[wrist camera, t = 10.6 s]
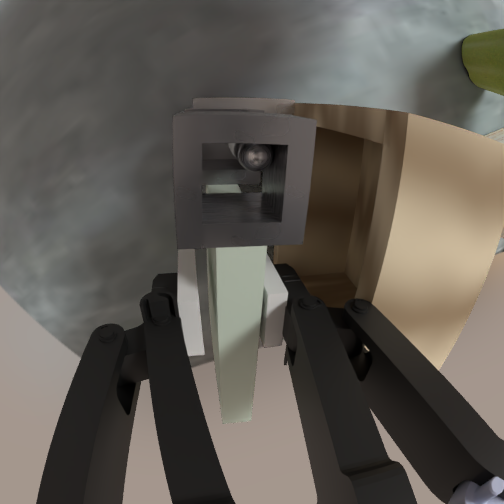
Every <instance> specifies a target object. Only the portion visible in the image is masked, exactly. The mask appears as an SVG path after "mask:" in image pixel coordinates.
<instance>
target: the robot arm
mask: <svg viewBox="0 0 504 504" xmlns="http://www.w3.org/2000/svg"><path fill="white" fill-rule="evenodd" d="M140 308H141V312H142V317H143V321H144V323H143V324H141V325H140V326H138V327H136V328H133V329H129V330H126V331H124V329H123V328H122V327H121V326H119V325H117V324H105V325H102V326H100V327H98V328H97V329H95V330H94V332H93V333H92V334H91V337H90V339H89V341H88V344H87V346H86V348H85V351H84V353H83V355H82V358H81V360H80V363H79V366H78V368H77V370H76V373H75V375H74V378H73V380H72V383H71V386H70V388H69V391H68V394H67V396H66V399H65V402H64V405H63V408H62V411H61V414H60V417H59V420H58V423H57V426H56V429H55V432H54V435H53V439H52V442H51V445H50V449H49V452H48V456H47V460H46V464H45V467H44V471H43V475H42V480H41V484H40V488H39V493H38V498H37V503H36V504H122V500H123V492H124V483H125V475H126V467H127V459H128V453H129V446H130V440H131V434H132V428H133V422H134V416H135V411H136V405H137V400H138V395H139V390H140V385H141V381H143V380H146V379H149V383H150V390H151V398H152V405H153V412H154V418H155V424H156V430H157V436H158V441H159V446H160V451H161V456H162V461H163V465H164V470H165V474H166V479H167V483H168V487H169V491H170V495H171V499H172V503H173V504H235V502H234V500H233V498H232V496H231V493H230V491H229V488H228V485H227V483H226V480H225V477H224V474H223V472H222V469H221V466H220V463H219V460H218V457H217V454H216V451H215V448H214V445H213V442H212V439H211V436H210V432H209V429H208V426H207V423H206V420H205V416H204V413H203V409H202V406H201V402H200V399H199V395H198V391H197V388H196V384H195V381H194V377H193V373H192V369H191V365H190V361H189V357H188V356H195V355H205V353H204V344H203V335H202V326H201V316H200V305H199V295H198V284H197V273H196V261H195V249H178V273H166V274H158V275H157V276H156V277H155V279H154V280H153V285H152V292H151V293H148V294H147V295H145V296H144V297H143V298H142V299H141V301H140ZM260 337H261V340H262V343H263V346H264V348H267V347H274V346H280V345H282V340H283V337H284V339H285V341H286V344H287V345H286V352H285V358H284V365H287V361H288V365H289V370H290V374H291V378H292V383H293V387H294V392H295V396H296V400H297V405H298V410H299V414H300V418H301V423H302V428H303V432H304V437H305V441H306V446H307V451H308V455H309V460H310V464H311V469H312V474H313V478H314V483H315V488H316V492H317V504H417V501H416V498H415V496H414V493H413V490H412V488H411V484H410V482H409V479H408V476H407V474H406V471H405V469H404V468H403V466H402V465H401V464H400V463H399V462H396V461H392V460H391V459H390V458H389V457H388V455H387V452H386V450H385V448H384V444H383V442H382V439H381V436H380V434H379V431H378V429H377V426H376V423H375V421H374V418H373V416H372V414H371V411H370V409H371V410H372V411H373V413H374V414H375V416H376V417H377V418H378V420H379V421H380V422H381V424H382V425H383V426H384V428H385V429H386V431H387V432H388V434H389V435H390V436H391V438H392V439H393V440H394V442H395V443H396V445H397V446H398V447H399V448H400V450H401V451H402V453H403V454H404V456H405V457H406V458H407V460H408V461H409V462H410V464H411V465H412V467H413V468H414V469H415V470H416V472H417V473H418V475H419V476H420V478H421V479H422V480H423V482H424V483H425V484H426V486H427V487H428V488H429V489H430V491H431V492H432V493H433V494H434V495H436V497H438V498H439V499H440V500H441V501H442V502H444V503H445V504H504V440H502V439H500V438H499V437H498V436H497V435H496V434H495V433H494V432H493V430H492V429H491V428H490V427H489V426H488V425H487V423H486V422H485V421H484V420H483V419H482V418H481V417H480V415H478V413H477V412H476V411H475V410H474V409H473V408H472V406H471V405H470V404H469V403H468V402H467V401H466V400H465V399H464V398H463V396H462V395H461V394H460V393H459V392H458V391H457V390H456V389H455V388H454V387H453V386H452V385H451V383H450V382H449V381H448V380H447V379H446V378H445V377H444V376H443V375H442V374H441V373H440V372H439V371H438V370H437V369H436V368H435V366H434V365H433V364H432V363H431V362H430V361H429V360H428V359H427V358H426V357H425V356H424V355H423V354H422V353H421V352H420V351H419V350H418V349H417V348H416V347H415V346H414V345H413V344H412V343H411V342H410V341H409V340H408V339H407V338H406V337H405V336H404V335H403V334H402V333H401V332H400V331H399V330H398V329H397V328H396V327H395V326H394V325H393V324H392V323H391V322H390V321H389V320H388V319H387V318H386V317H385V316H384V315H383V314H382V313H381V312H380V311H379V310H378V309H377V308H376V307H375V306H374V305H373V304H371V303H370V302H369V301H366V300H364V299H358V298H356V299H350V300H348V301H347V302H346V303H345V306H344V308H333V307H326V305H325V303H324V302H323V301H322V300H321V299H320V298H318V297H315V296H312V295H310V293H309V292H308V290H307V289H306V287H305V285H304V284H303V282H302V281H301V279H300V278H299V276H298V275H297V273H296V271H295V270H294V268H292V267H291V266H289V265H288V264H286V263H284V264H273V263H272V261H271V260H270V258H269V256H268V254H267V253H266V265H265V277H264V289H263V300H262V312H261V323H260ZM364 346H366V347H367V348H368V349H369V351H368V350H366V348H365V347H364ZM369 407H370V408H369Z"/></svg>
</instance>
